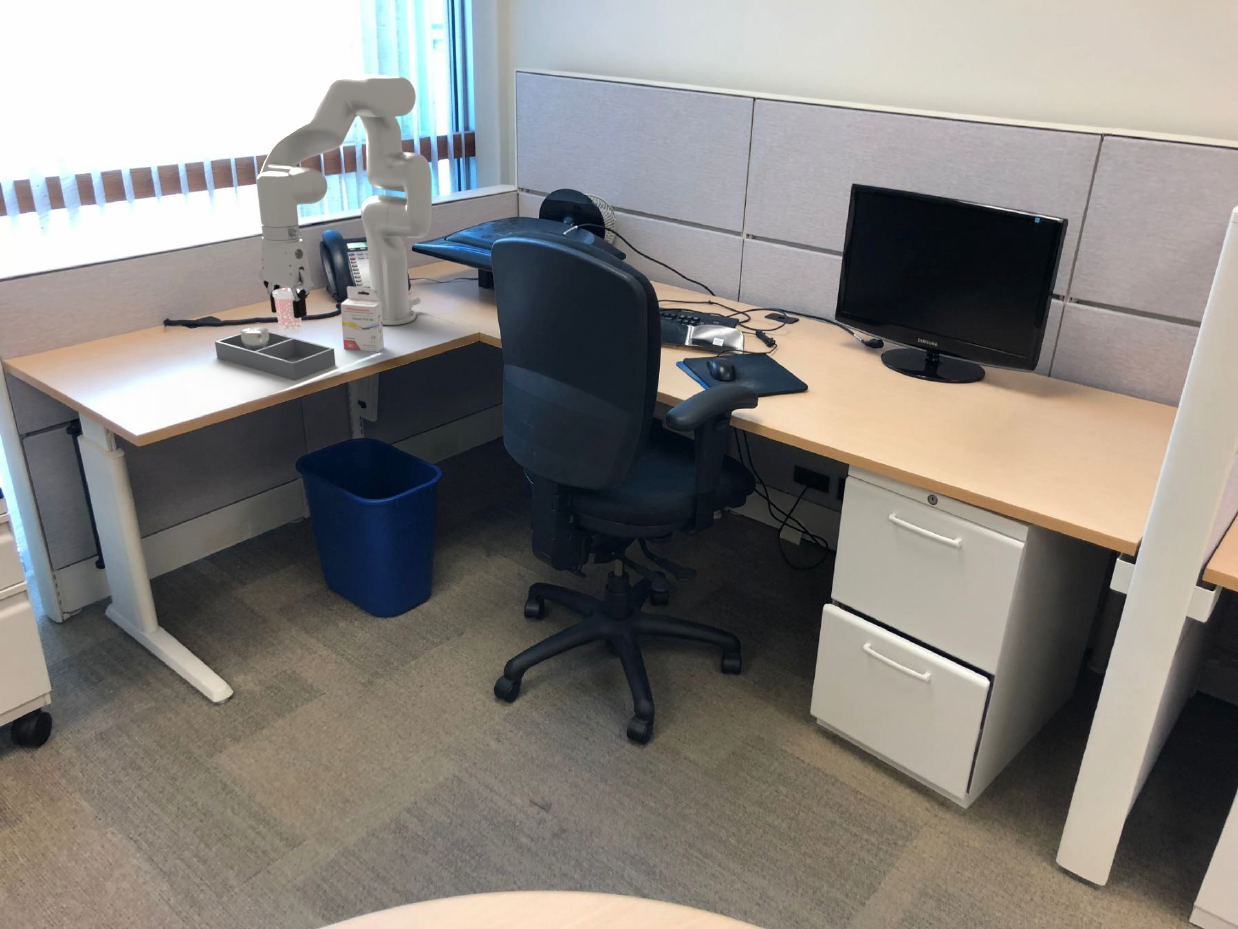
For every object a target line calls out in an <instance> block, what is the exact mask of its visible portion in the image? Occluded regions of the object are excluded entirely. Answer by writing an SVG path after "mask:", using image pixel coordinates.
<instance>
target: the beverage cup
mask: <svg viewBox="0 0 1238 929" xmlns="http://www.w3.org/2000/svg"><path fill="white" fill-rule="evenodd" d="M297 292H298V293H299V292H300V290H299V288H297ZM272 294H273V297H274V300H275V306H276V311H277V312H276V316H277V317H276V318H277V322H278V328H279V332H280V333H279V334H281V335H296V334H299V333H302V317H301V318H298V319H296V318H294V312H293V300H295V299H294V297H293V294H292V291H291V289H290V288H289V287H285V286H284V287H283V288H282V287H281V289H277V290H274V291H273V292H272Z"/></svg>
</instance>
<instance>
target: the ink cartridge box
mask: <svg viewBox="0 0 1238 929" xmlns="http://www.w3.org/2000/svg"><path fill="white" fill-rule="evenodd" d="M346 292H347V298H346V299H345V300H344V301H342V302H341V303H340V310H341V311H340V312H341V325H342V340H343V349H344V350H355V351H368V352H376V353H378V354H379V353H380V350H381V351H382V349H383V348H385V347H384V346H385V342H384V340H385V339H384V329H383V328H384V325H383V323H382V305H381V301H380V290H379V289H374V288H371V287H361V286H358V287H357V286H351V285H350V286H349V285H348V286H347V287H346ZM363 292H365V293H368V294H361V293H363Z"/></svg>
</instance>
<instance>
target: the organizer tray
mask: <svg viewBox="0 0 1238 929" xmlns="http://www.w3.org/2000/svg"><path fill="white" fill-rule="evenodd" d="M268 332H269V341H270V346H268V347H265V348H263V349H260V350H257V351H251V350H248V349H244V348H243V347H242V340H241V332H240V333H236V334H235V335H230V336H227V337H225V338H222V339H221V338H220V339H218V340H215V341H214V344H215V350H216V351H215V352H216V358H217V359H220V360H222V361H226V362H229V363H234V364H237V365H240V366H243V367H247V368H251V369H254V370H257V371H260V372H264V373H267V374H270V375H275V376H277V377H281V378H285V379H288V380H292V381H298V380H301V379H303V378H306V377H308V376H311V375H314V374H316V373H319V372H321V371H324V370H326V369H329V368H331V367H334V366H336V355H335V348H333V347H329V346H326V345H322V344H318V343H314V342H312V341H311V342H310V341H307V340H303V339H299V338H296V337H292V336H288V335H286V334H282V333H277V332H274V331H269V330H268Z"/></svg>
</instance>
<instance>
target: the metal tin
mask: <svg viewBox="0 0 1238 929" xmlns="http://www.w3.org/2000/svg"><path fill="white" fill-rule="evenodd" d="M268 331H269V329H268V328H266V327H261V326H252V327H246V328H244V329H243V328H242V330H241V331H240V333H241V340H242V347H243V348H244V349H248V350H251V351H257V350H260V349H263V348H265V347H268V346H270V341H269V332H268Z"/></svg>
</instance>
